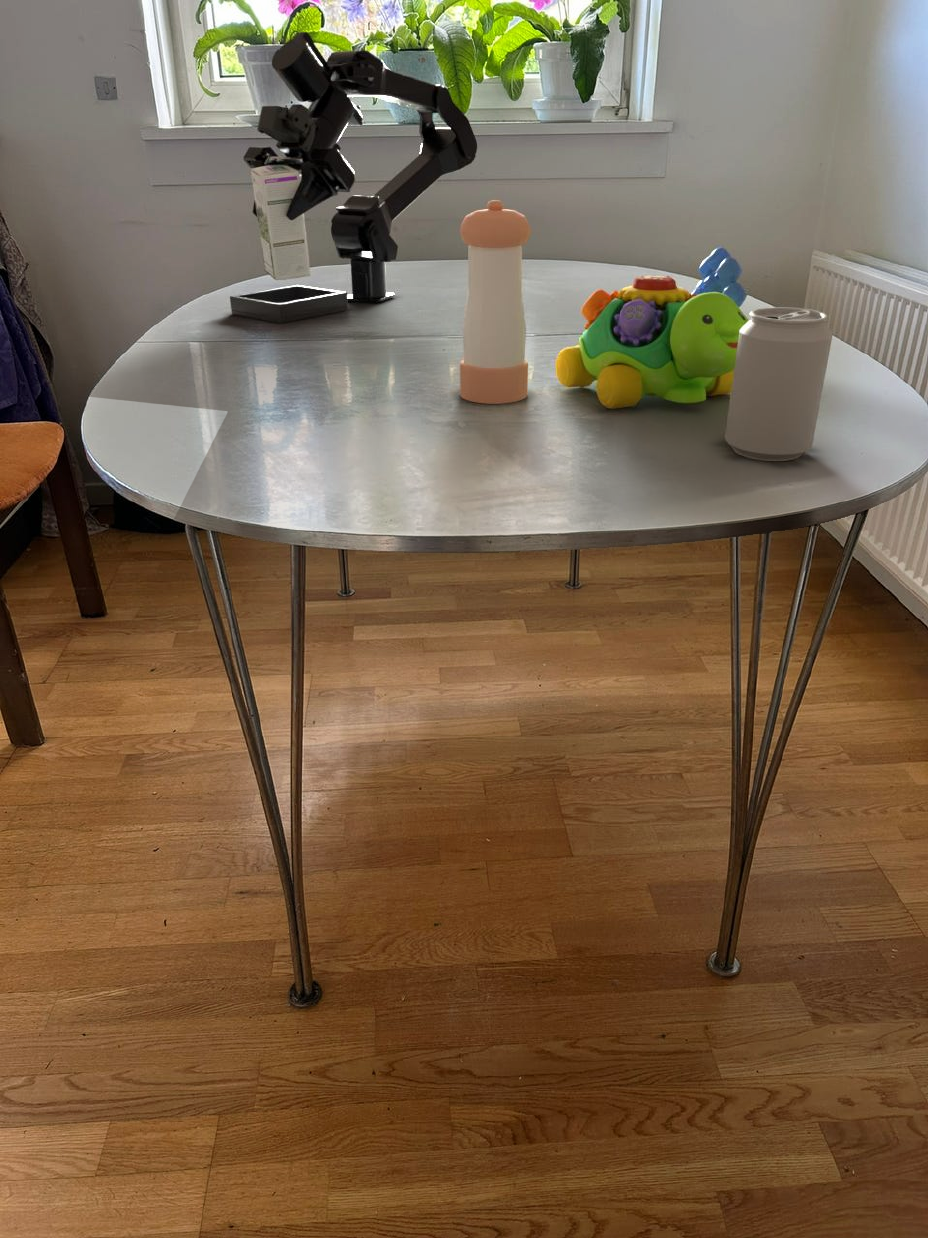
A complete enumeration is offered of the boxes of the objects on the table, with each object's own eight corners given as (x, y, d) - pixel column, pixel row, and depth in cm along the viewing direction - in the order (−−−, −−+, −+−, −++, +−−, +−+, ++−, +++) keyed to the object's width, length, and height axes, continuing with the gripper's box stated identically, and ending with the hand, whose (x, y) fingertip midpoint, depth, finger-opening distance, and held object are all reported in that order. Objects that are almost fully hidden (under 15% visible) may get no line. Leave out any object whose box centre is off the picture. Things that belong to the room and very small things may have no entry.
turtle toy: (654, 437, 85) (666, 306, 80) (538, 379, 104) (542, 270, 98) (797, 415, 91) (818, 292, 86) (663, 364, 110) (673, 260, 104)
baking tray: (298, 301, 150) (297, 284, 148) (348, 309, 143) (347, 292, 142) (231, 313, 140) (229, 296, 139) (281, 323, 134) (279, 304, 133)
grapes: (665, 340, 122) (674, 243, 116) (712, 337, 123) (724, 242, 117) (699, 359, 112) (711, 255, 106) (750, 357, 113) (765, 253, 107)
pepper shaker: (454, 402, 96) (452, 203, 87) (465, 385, 102) (464, 197, 93) (523, 405, 95) (528, 203, 86) (530, 387, 101) (536, 197, 92)
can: (712, 439, 85) (729, 304, 79) (790, 436, 85) (813, 302, 80) (740, 466, 78) (761, 321, 72) (825, 462, 79) (853, 318, 73)
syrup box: (312, 276, 137) (301, 169, 128) (273, 281, 134) (260, 173, 126) (299, 266, 141) (288, 162, 132) (262, 271, 139) (249, 166, 130)
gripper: (245, 83, 132) (193, 173, 131) (333, 80, 122) (278, 177, 120) (292, 142, 141) (245, 227, 140) (378, 144, 131) (328, 235, 129)
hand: (271, 216), depth 132 cm, fingers closed on syrup box, 7 cm apart
